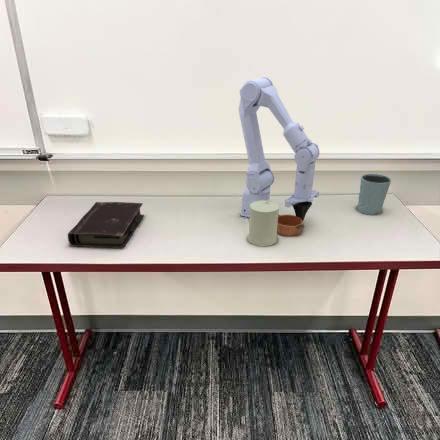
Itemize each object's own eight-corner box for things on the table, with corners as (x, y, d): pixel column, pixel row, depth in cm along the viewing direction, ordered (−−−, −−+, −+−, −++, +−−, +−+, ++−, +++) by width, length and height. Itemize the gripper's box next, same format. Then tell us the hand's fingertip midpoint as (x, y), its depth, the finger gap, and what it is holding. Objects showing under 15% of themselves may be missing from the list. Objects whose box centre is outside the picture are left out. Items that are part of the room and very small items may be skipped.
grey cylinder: (350, 209, 156) (355, 177, 150) (364, 202, 162) (371, 171, 155) (374, 217, 150) (381, 185, 143) (389, 210, 156) (396, 178, 149)
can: (279, 235, 139) (282, 200, 132) (273, 248, 132) (276, 212, 125) (252, 231, 141) (254, 197, 135) (244, 243, 134) (246, 208, 127)
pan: (284, 220, 148) (285, 211, 146) (310, 232, 141) (311, 222, 139) (265, 227, 144) (265, 218, 142) (291, 240, 136) (292, 230, 134)
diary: (68, 246, 133) (65, 232, 130) (96, 214, 153) (93, 200, 150) (126, 249, 131) (124, 234, 128) (146, 216, 152) (144, 203, 149)
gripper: (297, 191, 130) (293, 231, 138) (328, 181, 138) (322, 219, 146) (281, 185, 135) (278, 224, 143) (311, 175, 142) (307, 213, 150)
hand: (299, 221), depth 144 cm, fingers closed
